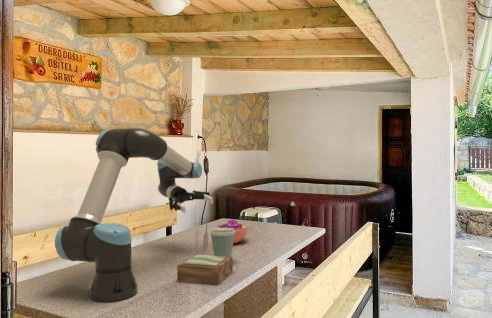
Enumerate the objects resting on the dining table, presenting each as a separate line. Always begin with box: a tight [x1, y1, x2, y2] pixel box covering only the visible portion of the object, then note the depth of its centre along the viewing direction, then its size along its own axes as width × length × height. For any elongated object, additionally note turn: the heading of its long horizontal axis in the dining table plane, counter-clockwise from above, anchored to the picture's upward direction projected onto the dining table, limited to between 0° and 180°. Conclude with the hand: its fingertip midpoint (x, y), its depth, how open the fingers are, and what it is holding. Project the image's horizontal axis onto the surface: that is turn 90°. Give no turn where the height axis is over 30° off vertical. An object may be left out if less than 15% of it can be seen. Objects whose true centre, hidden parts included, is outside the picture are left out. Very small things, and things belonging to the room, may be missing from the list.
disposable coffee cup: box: [210, 227, 235, 257], centre depth 172 cm, size 11×11×15 cm
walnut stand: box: [176, 254, 234, 286], centre depth 153 cm, size 16×16×6 cm
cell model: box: [215, 219, 248, 244], centre depth 210 cm, size 17×20×11 cm
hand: (198, 205), depth 175 cm, fingers open, 13 cm apart
